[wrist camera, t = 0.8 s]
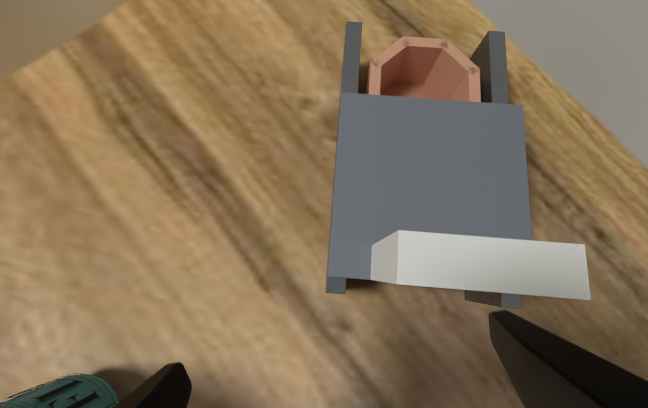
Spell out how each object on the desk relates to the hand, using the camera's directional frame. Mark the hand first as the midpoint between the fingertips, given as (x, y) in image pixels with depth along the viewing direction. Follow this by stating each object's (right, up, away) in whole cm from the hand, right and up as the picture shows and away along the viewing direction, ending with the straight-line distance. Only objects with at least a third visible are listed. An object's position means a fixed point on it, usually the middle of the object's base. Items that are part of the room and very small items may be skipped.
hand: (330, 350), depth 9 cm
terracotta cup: (+7, +12, +18) cm, 23 cm away
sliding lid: (+7, +5, +11) cm, 14 cm away
